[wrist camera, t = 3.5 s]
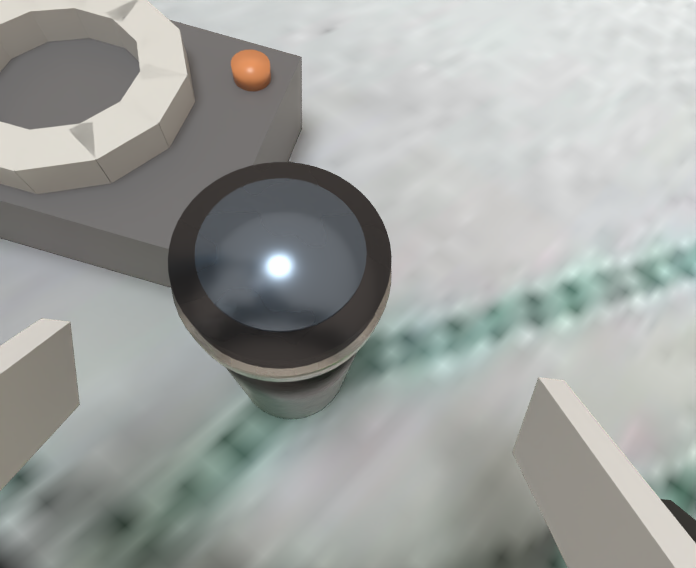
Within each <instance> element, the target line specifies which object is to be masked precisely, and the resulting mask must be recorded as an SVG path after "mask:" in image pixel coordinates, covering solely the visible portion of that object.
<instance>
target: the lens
mask: <svg viewBox="0 0 696 568" xmlns="http://www.w3.org/2000/svg"><path fill="white" fill-rule="evenodd" d="M168 274H169V279H170V284H171V289H172V294H173V299H174V303H175V306H176V308H177V311H178V314H179V316H180V318H181V320H182V322H183V323H184V325H185V327H186V328H187V330H188V331H189V332H190V334H191V335H192V336H193V338H194V339H195V340H196V341H197V342H198V344H199V345H200V346H201V347H202V348H203V349H204V350H205V351H206V352H207V353H208V354H209V355H210V356H211V357H212V358H213V359H215V360H216V361H217V362H219V363H220V364H222V365H223V366H225V367H226V368H227V370H228V371H229V372H230V373H231V375H232V376H233V377H234V379H235V380H236V381H237V382H238V384H239V385H240V386H241V388H242V389H243V390H244V391H245V393H246V394H247V395H248V396H249V398H250V399H251V400H252V402H253V403H254V404H255V405H256V406H257V407H259V408H260V409H261V410H263V411H264V412H266V413H268V414H270V415H272V416H275V417H279V418H283V419H299V418H304V417H307V416H310V415H313V414H315V413H317V412H319V411H320V410H322V409H323V408H325V407H326V406H327V405H328V404H329V403H330V402H331V401H332V400H333V399H334V397H335V396H336V394H337V393H338V391H339V389H340V387H341V385H342V383H343V381H344V379H345V377H346V374H347V372H348V370H349V368H350V366H351V364H352V362H353V360H354V358H355V356H356V354H357V352H358V350H359V349H360V348H361V347H362V346H363V345H364V344H365V343H366V341H367V340H368V338H369V337H370V336H371V334H372V333H373V331H374V329H375V327H376V325H377V323H378V322H379V320H380V318H381V315H382V313H383V311H384V309H385V306H386V303H387V300H388V297H389V292H390V286H391V249H390V242H389V238H388V234H387V231H386V229H385V226H384V224H383V221H382V219H381V218H380V216H379V214H378V213H377V211H376V209H375V208H374V207H373V205H372V204H371V203H370V201H369V200H368V199H367V198H366V197H365V196H364V195H363V194H362V193H361V192H360V191H359V190H358V189H356V188H355V187H354V186H353V185H351V184H350V183H349V182H347V181H345V180H344V179H342V178H341V177H339V176H337V175H335V174H333V173H331V172H328V171H326V170H323V169H320V168H317V167H314V166H310V165H305V164H300V163H291V162H271V163H262V164H257V165H252V166H248V167H245V168H241V169H238V170H236V171H233V172H231V173H229V174H227V175H224V176H223V177H221V178H219V179H218V180H216V181H214V182H213V183H211V184H210V185H209V186H207V187H206V188H205V189H203V190H202V191H201V192H200V193H199V194H198V195H197V196H196V197H195V198H194V199H193V200H192V201H191V202H190V204H189V205H188V206H187V207H186V209H185V210H184V212H183V213H182V215H181V217H180V218H179V220H178V222H177V224H176V226H175V229H174V231H173V234H172V237H171V241H170V245H169V252H168Z"/></svg>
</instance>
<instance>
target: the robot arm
mask: <svg viewBox="0 0 696 568" xmlns="http://www.w3.org/2000/svg"><path fill="white" fill-rule="evenodd" d="M79 405H80V403H79V394H78V386H77V377H76V368H75V359H74V350H73V341H72V332H71V324H70V322H69V321H60V320H52V319H43V318H41V319H40V320H38V321H37V322H35V323H34V324H32V325H31V326H29V327H28V328H26V329H25V330H23V331H22V332H20V333H19V334H17V335H16V336H14V337H13V338H11V339H10V340H8V341H7V342H5V343H4V344H2V345H1V346H0V491H1V490H2V488H3V487H4V486H5V485H6V484H7V483H8V482H9V481H10V480H11V479H12V478H13V477H14V475H15V474H16V473H17V472H18V471H19V470H20V469H21V468H22V467H23V466H24V465H25V464H26V462H27V461H28V460H29V459H30V458H31V457H32V456H33V455H34V454H35V453H36V452H37V451H38V449H39V448H40V447H41V446H42V445H43V444H44V443H45V442H46V441H47V440H48V439H49V438H50V436H51V435H52V434H53V433H54V432H55V431H56V430H57V429H58V428H59V427H60V426H61V424H62V423H63V422H64V421H65V420H66V419H67V418H68V417H69V416H70V415H71V414H72V413H73V411H74V410H75V409H76V408H77V407H78V406H79ZM512 453H513V455H514V457H515V459H516V461H517V463H518V465H519V467H520V469H521V471H522V473H523V476H524V478H525V480H526V482H527V484H528V486H529V488H530V490H531V492H532V494H533V496H534V498H535V501H536V503H537V505H538V507H539V509H540V511H541V513H542V515H543V517H544V519H545V521H546V523H547V525H548V528H549V530H550V532H551V534H552V536H553V538H554V540H555V542H556V544H557V546H558V548H559V550H560V552H561V555H562V557H563V559H564V561H565V563H566V565H567V567H568V568H696V520H695V519H693V518H692V517H691V516H690V515H688V514H687V513H686V512H685V511H683V510H682V509H681V508H680V507H679V506H677V505H676V504H675V503H674V502H672V501H671V500H664V499H660V498H659V497H658V496H657V495H656V493H655V492H654V491H653V490H652V488H651V487H650V486H649V485H648V483H647V482H646V481H645V480H644V478H643V477H642V476H641V475H640V474H639V472H638V471H637V470H636V469H635V467H634V466H633V465H632V464H631V462H630V461H629V460H628V459H627V457H626V456H625V455H624V454H623V452H622V451H621V450H620V449H619V447H618V446H617V445H616V444H615V442H614V441H613V440H612V439H611V438H610V436H609V435H608V434H607V433H606V431H605V430H604V429H603V428H602V426H601V425H600V424H599V423H598V421H597V420H596V419H595V418H594V416H593V415H592V414H591V413H590V411H589V410H588V409H587V408H586V406H585V405H584V404H583V403H582V402H581V400H580V399H579V398H578V397H577V395H576V394H575V393H574V392H573V390H572V389H571V388H570V387H569V385H568V384H567V383H566V382H565V380H558V379H549V378H541V377H538V380H537V383H536V386H535V389H534V392H533V395H532V397H531V400H530V403H529V406H528V409H527V412H526V415H525V417H524V420H523V423H522V426H521V429H520V432H519V435H518V437H517V440H516V443H515V446H514V449H513V452H512Z"/></svg>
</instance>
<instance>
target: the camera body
mask: <svg viewBox="0 0 696 568" xmlns="http://www.w3.org/2000/svg"><path fill="white" fill-rule="evenodd" d="M301 129H302V57H300V56H297V55H293V54H289V53H286V52H282V51H279V50H275V49H272V48H268V47H264V46H261V45H257V44H254V43H250V42H247V41H243V40H239V39H236V38H232V37H229V36H225V35H222V34H218V33H214V32H211V31H207V30H204V29H200V28H197V27H193V26H189V25H186V24H182V23H179V22H175V21H172V20H169V19H167V18H166V17H165V16H164V15H163V14H162V13H161V12H160V11H158V10H157V9H156V8H155V7H154V6H153V5H152V4H151V3H150V2H148V1H147V0H0V238H2V239H6V240H9V241H13V242H16V243H20V244H23V245H27V246H30V247H33V248H37V249H40V250H44V251H47V252H51V253H54V254H57V255H61V256H64V257H68V258H71V259H75V260H78V261H82V262H85V263H88V264H92V265H95V266H99V267H102V268H106V269H109V270H113V271H116V272H119V273H123V274H126V275H130V276H133V277H137V278H140V279H144V280H147V281H150V282H154V283H157V284H161V285H164V286H168V287H171V284H170V279H169V274H168V252H169V245H170V241H171V237H172V234H173V231H174V229H175V226H176V224H177V222H178V220H179V218H180V217H181V215H182V213H183V212H184V210H185V209H186V207H187V206H188V205H189V204H190V202H191V201H192V200H193V199H194V198H195V197H196V196H197V195H198V194H199V193H200V192H201V191H202V190H203V189H205V188H206V187H207V186H209V185H210V184H211V183H213V182H214V181H216V180H218V179H219V178H221V177H223V176H224V175H227V174H229V173H231V172H233V171H236V170H238V169H241V168H245V167H248V166H252V165H257V164H262V163H271V162H288V160H289V158H290V155H291V153H292V150H293V148H294V146H295V143H296V141H297V138H298V136H299V133H300V131H301Z"/></svg>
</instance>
